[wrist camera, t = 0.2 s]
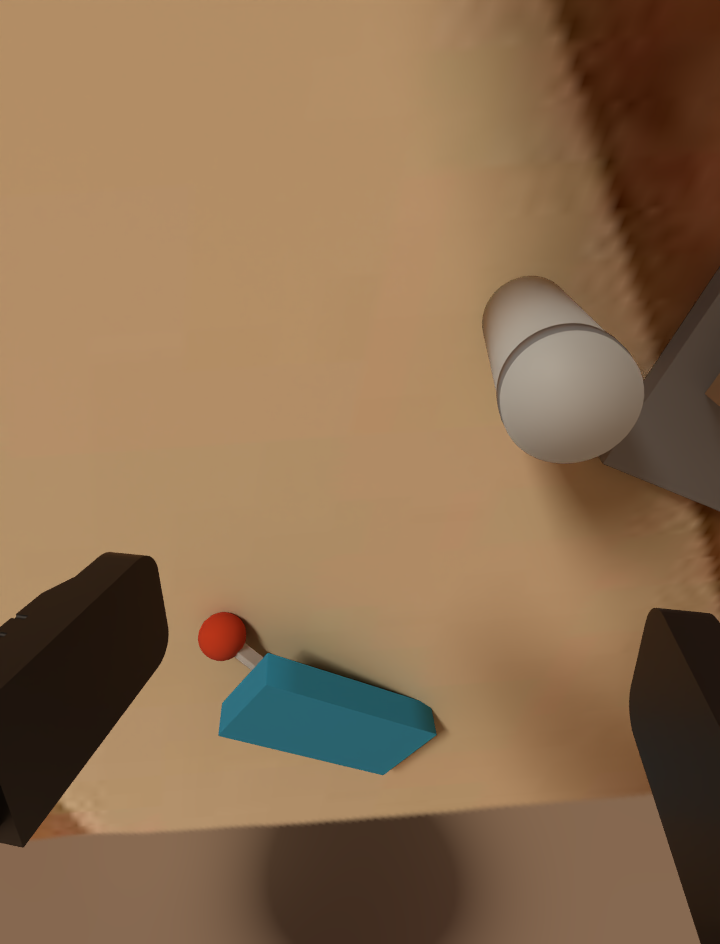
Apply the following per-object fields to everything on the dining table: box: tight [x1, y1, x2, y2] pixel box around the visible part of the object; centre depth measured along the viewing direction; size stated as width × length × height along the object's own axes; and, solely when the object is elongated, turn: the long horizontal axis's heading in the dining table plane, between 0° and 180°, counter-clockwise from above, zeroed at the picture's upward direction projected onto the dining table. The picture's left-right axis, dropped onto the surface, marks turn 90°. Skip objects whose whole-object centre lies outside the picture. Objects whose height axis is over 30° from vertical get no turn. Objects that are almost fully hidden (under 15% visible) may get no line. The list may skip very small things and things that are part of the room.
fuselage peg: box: [482, 276, 644, 464], centre depth 23 cm, size 4×4×12 cm
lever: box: [198, 612, 437, 775], centre depth 42 cm, size 7×7×18 cm
